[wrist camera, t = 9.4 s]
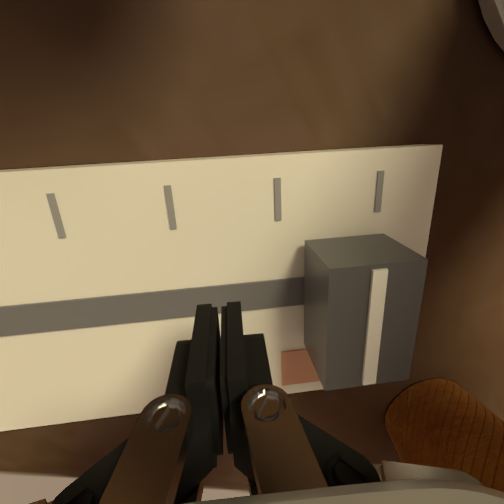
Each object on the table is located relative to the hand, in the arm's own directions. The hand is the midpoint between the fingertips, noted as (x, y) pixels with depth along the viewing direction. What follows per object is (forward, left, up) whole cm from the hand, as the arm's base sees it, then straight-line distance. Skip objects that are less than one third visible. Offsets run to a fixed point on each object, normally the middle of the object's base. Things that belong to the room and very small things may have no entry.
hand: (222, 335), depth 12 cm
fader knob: (-6, +1, -4) cm, 7 cm away
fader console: (+2, +1, -6) cm, 6 cm away
